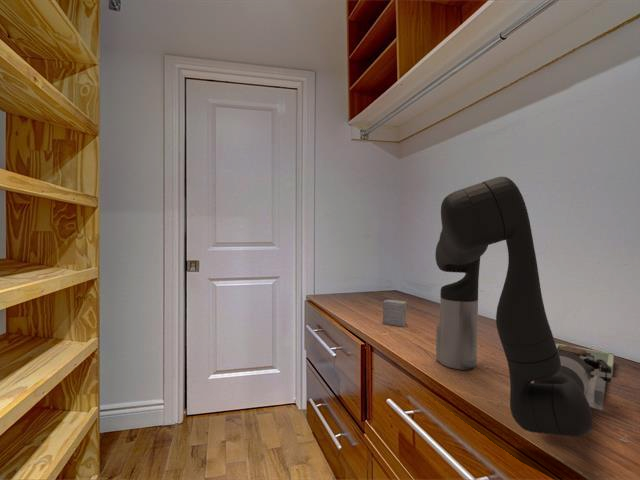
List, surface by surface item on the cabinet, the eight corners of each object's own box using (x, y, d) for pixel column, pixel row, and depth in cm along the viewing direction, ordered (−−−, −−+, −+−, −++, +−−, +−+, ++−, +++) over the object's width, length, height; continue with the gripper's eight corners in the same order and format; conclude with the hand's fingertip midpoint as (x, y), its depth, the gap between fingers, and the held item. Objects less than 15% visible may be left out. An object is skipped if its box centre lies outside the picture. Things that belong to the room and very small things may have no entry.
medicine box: (406, 324, 132) (407, 301, 132) (402, 327, 128) (403, 303, 128) (386, 321, 136) (386, 299, 136) (382, 324, 132) (382, 301, 132)
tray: (612, 376, 84) (612, 366, 84) (548, 363, 93) (548, 353, 93) (613, 363, 94) (613, 353, 94) (554, 351, 102) (555, 343, 102)
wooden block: (557, 384, 78) (558, 347, 78) (565, 379, 80) (566, 344, 80) (578, 390, 75) (580, 353, 74) (586, 386, 77) (587, 349, 77)
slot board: (602, 412, 69) (602, 400, 68) (536, 394, 76) (536, 384, 76) (608, 364, 94) (608, 355, 94) (559, 354, 101) (559, 346, 101)
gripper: (613, 366, 62) (616, 344, 75) (521, 348, 71) (537, 331, 84) (612, 409, 62) (614, 380, 75) (520, 385, 71) (536, 363, 84)
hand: (573, 354), depth 79 cm, fingers closed on wooden block, 4 cm apart
